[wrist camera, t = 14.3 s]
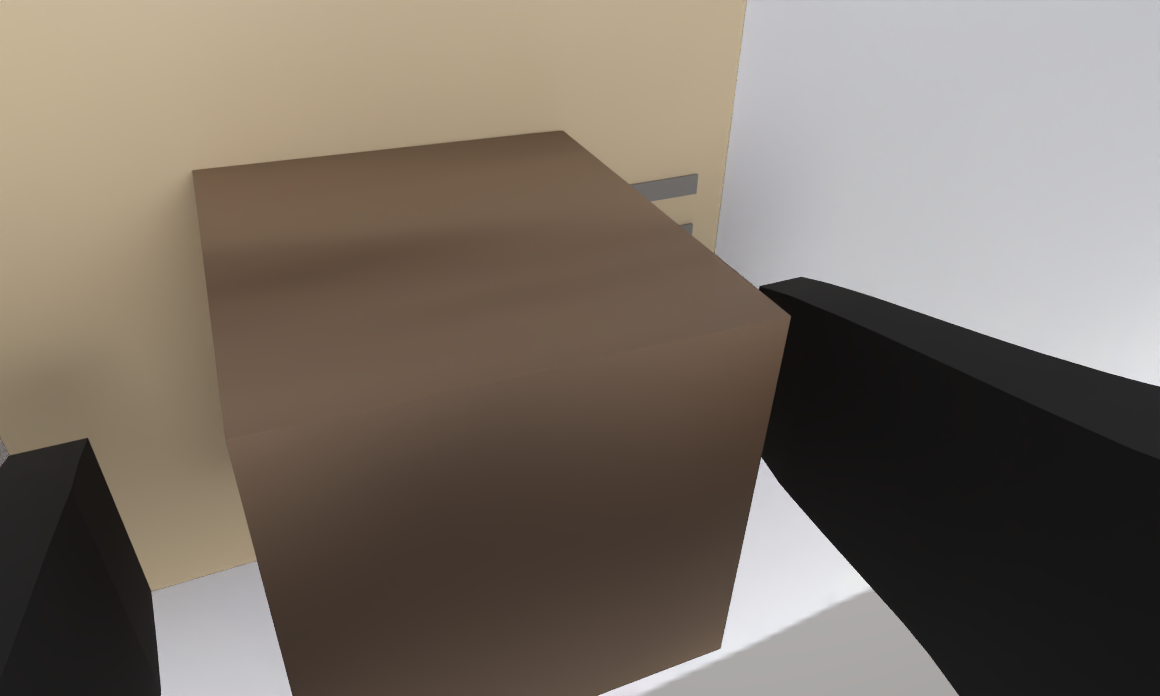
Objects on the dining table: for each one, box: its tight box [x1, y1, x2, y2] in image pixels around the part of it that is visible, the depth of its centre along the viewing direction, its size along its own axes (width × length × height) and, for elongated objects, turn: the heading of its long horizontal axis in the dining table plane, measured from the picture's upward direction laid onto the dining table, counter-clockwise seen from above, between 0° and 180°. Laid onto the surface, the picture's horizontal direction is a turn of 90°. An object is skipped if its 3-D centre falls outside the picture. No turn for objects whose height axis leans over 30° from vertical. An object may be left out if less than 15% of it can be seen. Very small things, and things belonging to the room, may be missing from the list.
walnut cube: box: [192, 131, 791, 696], centre depth 9 cm, size 4×4×5 cm
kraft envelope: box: [0, 0, 747, 592], centre depth 11 cm, size 10×10×1 cm
